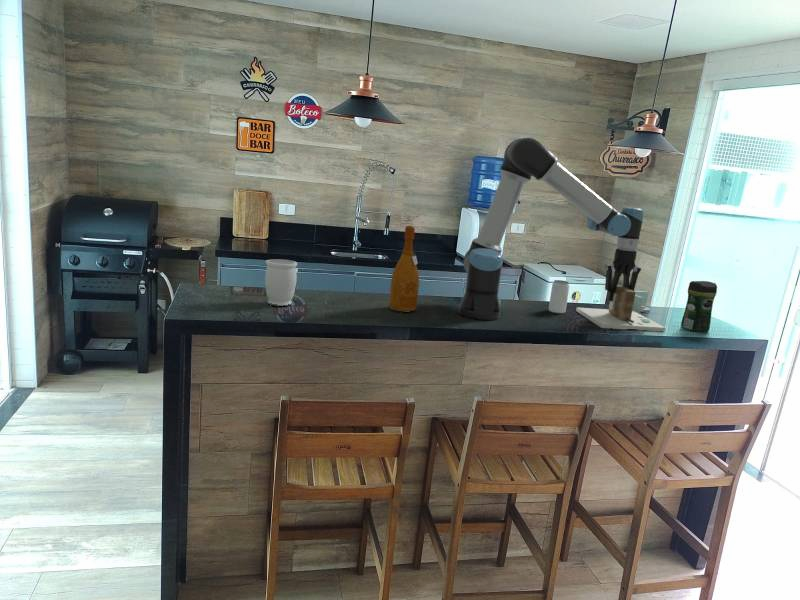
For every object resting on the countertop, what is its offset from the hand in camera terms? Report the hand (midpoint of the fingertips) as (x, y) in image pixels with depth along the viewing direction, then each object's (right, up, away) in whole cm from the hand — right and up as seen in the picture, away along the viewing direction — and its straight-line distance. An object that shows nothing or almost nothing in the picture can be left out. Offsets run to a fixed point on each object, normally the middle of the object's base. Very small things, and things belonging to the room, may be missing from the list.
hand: (615, 309), depth 228 cm
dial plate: (0, -4, -3) cm, 5 cm away
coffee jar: (+27, -8, -5) cm, 29 cm away
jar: (-124, +2, -23) cm, 126 cm away
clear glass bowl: (+18, -2, +20) cm, 26 cm away
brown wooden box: (0, -3, -5) cm, 6 cm away
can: (-22, -1, +4) cm, 22 cm away
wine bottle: (-82, 0, -15) cm, 83 cm away
